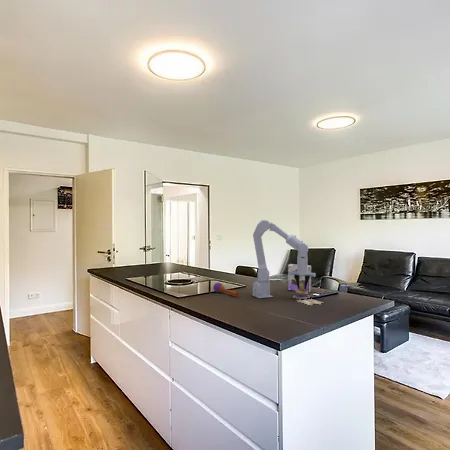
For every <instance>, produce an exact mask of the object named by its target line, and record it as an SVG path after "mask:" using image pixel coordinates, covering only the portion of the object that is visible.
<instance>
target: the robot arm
mask: <svg viewBox="0 0 450 450" xmlns="http://www.w3.org/2000/svg"><path fill="white" fill-rule="evenodd" d="M267 231H269V232H274V233H276V234H277V235H279V236H280V237H282V238H283V239H284V240H285V243H286V244H287V245H288V246H290V247H291V248H293V249H294V250H296V251H297V257H296V258H297V262H296V263H297V264H296V265H297V272H289V275H294V278H295V280H296V283H297V287H298V289H299V278H300V276H305V289H306V287H307V283H308V281H309V278H310V276H311V278H315V277H316V276H317V275H316V272H311V273H309V272H307V270H308V262H309V261H308V260H309V259H308V252H309V246H308V245H307V244H305V243H304V241H303V240H300V239H299V238H298V237H297V235H293V234H288V233H287V232H286V231H284V230H283V229H282V228H280V227H279V226H277V224H274V223H273V222H271V221H269V220H267V219H261V220H260V221H259V222H258V224H257V225H256V227H255V229H254V232H253V234H252V236H253V237H252V238H253V243H254V249H255V255H256V261H257V266H258V267H257V269H258V273H257V280H255V281H254V282H253V283H252V295H251V296H252V297H255V298H258V299H264V298H265V299H266V298H273V297H274V296H273V295H270V294H271V280H270V279H269V278H270V271H269V269H268V267H267V263H266V257H265V251H264V244H263V239H262V236H263V235H264V234H265V232H267ZM299 274H301V275H299Z"/></svg>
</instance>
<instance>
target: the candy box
mask: <svg viewBox="0 0 450 450" xmlns="http://www.w3.org/2000/svg"><path fill="white" fill-rule="evenodd" d="M289 272H297V264H293V263H290V264H287V291H288V290H292V291H291V292H296V290H299V289H298V287H297V283H296V280H295V278H294V275H289ZM307 272H309V273H312V265H308V270H307ZM299 275H301V274H299ZM299 281H304V282H305V276H300V278H299ZM311 289H312V277H311V276H310V278H309V281H308V283H307V287H306V289H305V290H306V291H308V292H309V293H311V292H310V291H312V290H311Z"/></svg>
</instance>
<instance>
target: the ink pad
mask: <svg viewBox="0 0 450 450" xmlns="http://www.w3.org/2000/svg"><path fill="white" fill-rule="evenodd" d="M310 297H311V298H312V296H310V295H309V294H308V295H299V294H295V295H292V298H293V299H295V298H296V299H295V300H298V299H299V300H301V299H304V300H305V299H307V298H310Z"/></svg>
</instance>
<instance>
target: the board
mask: <svg viewBox="0 0 450 450" xmlns="http://www.w3.org/2000/svg"><path fill="white" fill-rule="evenodd" d="M296 302H297V303H300V302H301V303H300V304H302V303H304V304H303V305H305V304H307V305H306V306H308V305H310V306H314V305H313V304H319V305H322V304H321V303H324V302H323V301H320V300H316V299H312V298H311V299H304V300H298V299H296Z"/></svg>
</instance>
